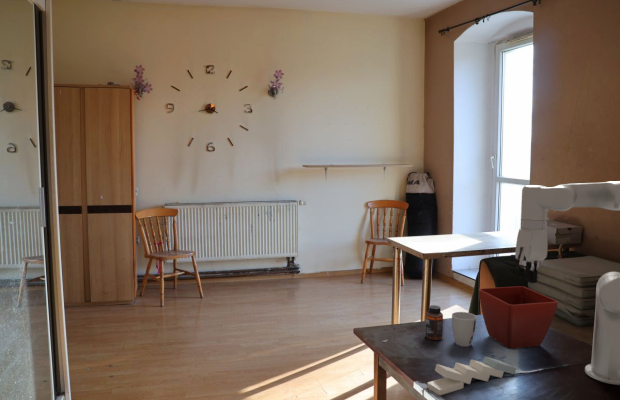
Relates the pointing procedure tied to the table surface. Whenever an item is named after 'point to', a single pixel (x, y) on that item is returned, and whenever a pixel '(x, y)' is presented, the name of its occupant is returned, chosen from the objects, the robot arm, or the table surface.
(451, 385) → the domino
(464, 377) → the domino
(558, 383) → the table surface
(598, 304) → the robot arm
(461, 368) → the domino
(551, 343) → the table surface
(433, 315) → the supplement bottle
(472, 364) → the domino
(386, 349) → the table surface
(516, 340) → the plant pot
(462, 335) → the cup
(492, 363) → the domino
